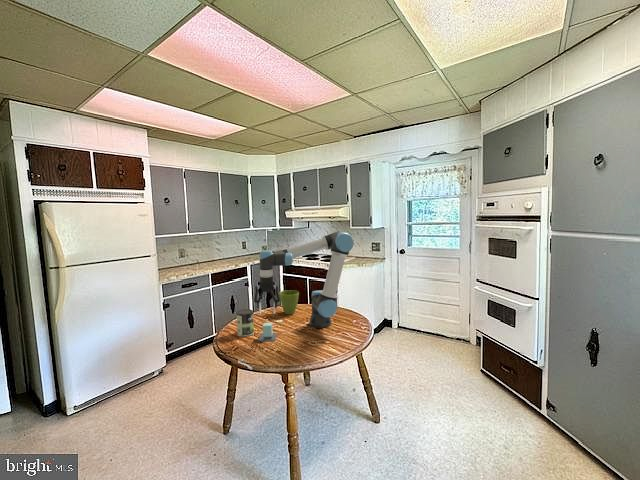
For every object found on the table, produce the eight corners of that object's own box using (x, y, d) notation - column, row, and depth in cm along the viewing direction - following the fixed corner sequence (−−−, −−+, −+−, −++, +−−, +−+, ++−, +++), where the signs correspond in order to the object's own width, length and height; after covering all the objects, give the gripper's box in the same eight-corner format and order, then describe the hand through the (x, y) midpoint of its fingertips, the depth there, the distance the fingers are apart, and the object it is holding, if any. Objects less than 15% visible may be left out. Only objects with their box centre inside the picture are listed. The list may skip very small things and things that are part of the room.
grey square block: (277, 334, 187) (276, 322, 186) (275, 340, 177) (275, 328, 176) (260, 334, 187) (260, 322, 186) (258, 341, 177) (258, 328, 176)
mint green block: (272, 333, 184) (272, 322, 184) (271, 336, 179) (271, 325, 179) (264, 333, 184) (263, 322, 184) (262, 336, 179) (262, 325, 178)
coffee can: (256, 330, 193) (255, 309, 192) (249, 337, 183) (248, 314, 182) (241, 329, 195) (241, 308, 194) (234, 336, 185) (233, 313, 184)
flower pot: (275, 313, 227) (275, 292, 226) (289, 308, 239) (289, 289, 237) (289, 317, 218) (288, 296, 216) (303, 312, 229) (303, 292, 228)
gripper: (284, 274, 183) (285, 310, 185) (250, 275, 182) (251, 311, 184) (283, 277, 176) (284, 314, 177) (247, 277, 175) (248, 315, 177)
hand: (267, 313), depth 181 cm, fingers open, 8 cm apart
